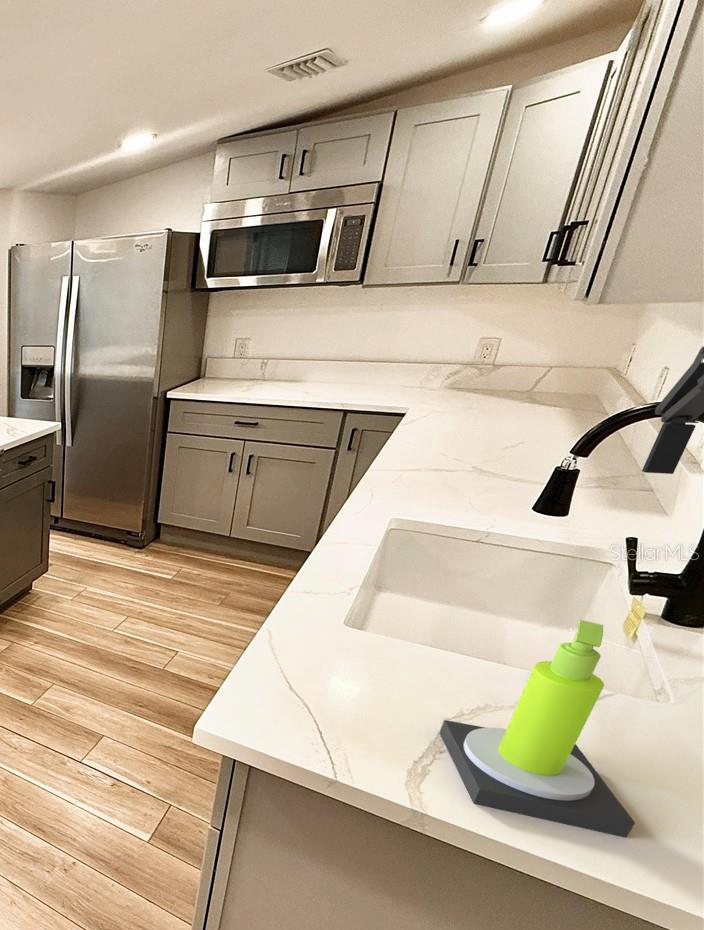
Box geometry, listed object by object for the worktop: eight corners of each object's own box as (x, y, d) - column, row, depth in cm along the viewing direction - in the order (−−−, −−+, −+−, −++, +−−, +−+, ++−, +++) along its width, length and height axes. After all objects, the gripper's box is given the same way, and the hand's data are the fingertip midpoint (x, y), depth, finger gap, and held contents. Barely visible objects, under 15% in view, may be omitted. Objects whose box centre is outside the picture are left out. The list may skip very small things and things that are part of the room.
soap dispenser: (494, 763, 78) (553, 630, 70) (501, 736, 82) (557, 607, 74) (559, 788, 74) (629, 649, 66) (563, 758, 78) (629, 624, 70)
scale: (568, 757, 83) (578, 737, 81) (626, 837, 71) (639, 816, 70) (439, 732, 88) (446, 714, 87) (473, 803, 77) (482, 783, 75)
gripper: (663, 302, 80) (597, 459, 89) (819, 316, 59) (714, 519, 68) (746, 299, 77) (670, 462, 86) (941, 314, 56) (815, 526, 65)
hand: (689, 488), depth 77 cm, fingers open, 13 cm apart
